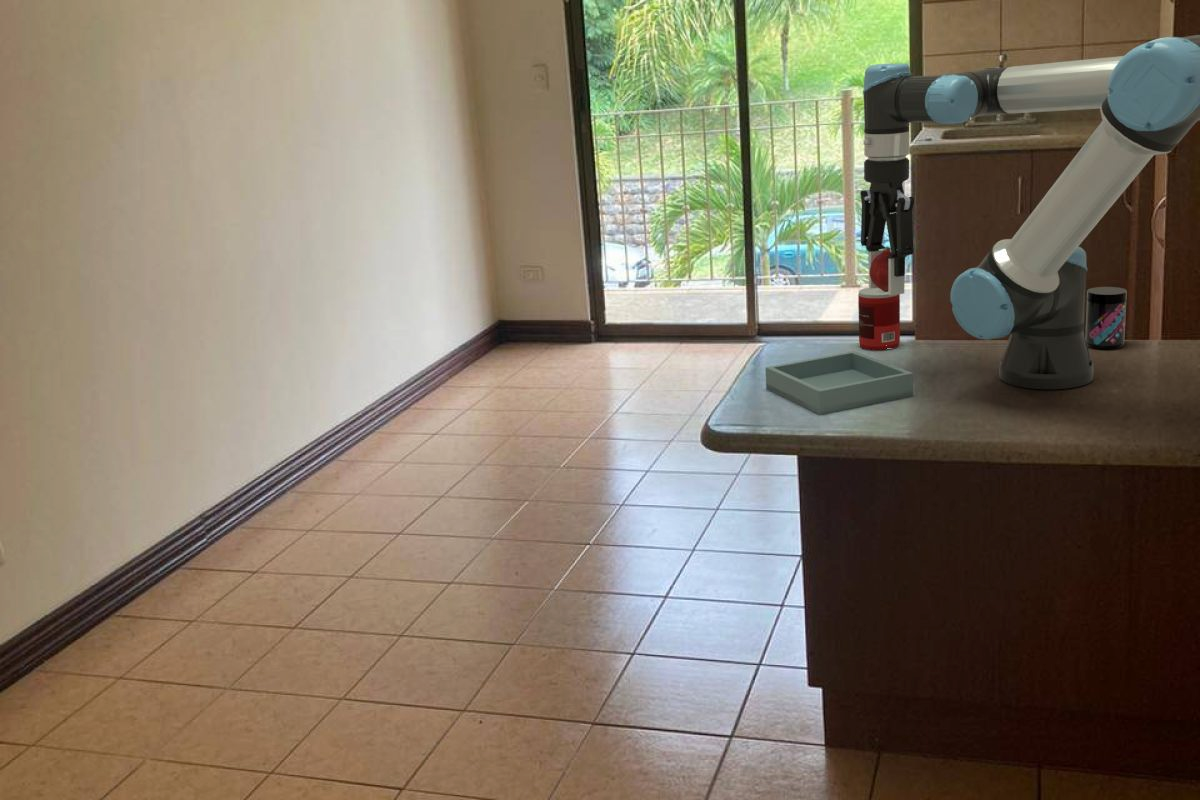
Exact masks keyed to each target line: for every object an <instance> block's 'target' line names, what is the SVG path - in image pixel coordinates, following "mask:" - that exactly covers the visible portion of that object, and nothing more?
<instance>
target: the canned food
mask: <svg viewBox="0 0 1200 800" xmlns="http://www.w3.org/2000/svg"><path fill="white" fill-rule="evenodd" d="M857 297H858V299H857V300H858V301H857V304H858V305H857V306H858V342H859V343H858V344H859V346H860V348H861V349H863V350H867V351H872V352H873V351H876V352H877V351H887V350H886V349H887V348H894V349H896V348H897V347H899V345H900V342H901V329H900V328H901V322H900V321H901V307H900V306H901V299H900V297H901V294H897V295H888V292H884V291H882V290H881V289H880V288H873V289H870V288H869V287H865V288H862V289H859V290H858V295H857ZM886 345H887V346H886ZM895 347H896V348H895Z"/></svg>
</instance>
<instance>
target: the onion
mask: <svg viewBox="0 0 1200 800" xmlns="http://www.w3.org/2000/svg"><path fill="white" fill-rule="evenodd" d="M884 247H885V248H884V249H882V250H883V252H882V253H881V254H879V255H878V256H877V257H876V258H875V259H874V260H873V262H872V264H871V267H870V278H871V280H872V282H873V283H874V284H875V285H876V286H877V287H878V288H880V289H881V290H882V291H884V292H888V263H889V258H888V256H889V255H891V249H890V246H884Z"/></svg>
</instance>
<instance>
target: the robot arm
mask: <svg viewBox="0 0 1200 800" xmlns="http://www.w3.org/2000/svg"><path fill="white" fill-rule="evenodd" d="M911 73H912V72H911V67H910V65H909V64H908V63H905V62H895V63H893V62H892V63H891V62H890V63H879V64H872V65H869V66H868V67H867V68H865V71H864V78H863V79H864V80H863V90H862V94H863V112H864V113H863V115H864V116H863V117H864V119H863V120H864V128H863V129H864V130H863V132H864V133H863V134H864V139H863V141H862V142H863V143H862V144H863V146H864V148H863V149H864V151H863V152H864V157H865V158H866V159H865V161H863V169H864V170H863V180H864V181H865V182H867V183H870V185H869V189H864V190H863V189H862V190H861V191H860V200H861V214H860V215H861V216H860V217H861V222H860V223H861V224H860V226H861V227H860V245H861V246H862V247H865V249H866V251H867V252H868V253H867V254H868V258H867V259H868V261H867V262H868V263H867V264H868V288H870V289H873V288H878V287H877V286H876V285H875V284H874V283H873V282H872V280H871V278H870V267H871V264H872V262H873V260H874V259H875V258H876V257H877V256H878V255H879V254H881V253H882V252H883V250H884V248H885V247H886V246H884V244H883V239H884V235H885V230H886V229H885V228H887V234H888V240H889V241H888V242H889V248H890V251H891V255H889V256H888V258H889V263H888V295H897V294H900V295H903V294H905V274H906V257H908V256H910V255H913V254H914V220H913V219H914V217H913V216H914V215H913V209H914V205H915V198H914V196H906V194H905V190H904V185H903V184H904V182H905V181H908V179H910V159H909V158H908V157H907V156H909V154H911V153H910V151H911V149H910V145H911V144H910V143H911V142H910V141H911V139H910V123H911V124H912V123H921V124H940V125H945V126H947V125H950V124H962V123H965V122H967V121H968V120H969V119H970V118H977V117H983V116H984V117H985V116H996V115H998V116H999V115H1009V114H1023V113H1025V114H1026V113H1042V112H1043V113H1044V112H1058V111H1059V112H1060V111H1075V110H1076V111H1077V110H1094V109H1096V110H1097V109H1099V111H1100V114H1101V115H1100V116H1101V119H1102V121H1100V124H1099V125H1097V127H1096V128H1095V130H1094V131H1093V133H1091V135H1090V136H1089V138H1088V139H1087V140H1086V142H1085V143H1084V145H1082V146H1081V148H1080V149H1079V151H1078V152H1077V153H1076V155H1075V156H1074V157H1073V158H1072V160H1071V161H1070V162H1069V163H1068V165H1067V166H1066V167H1065V168H1064V170H1063V171H1062V173H1061V174H1060V175H1059V177H1058V178H1057V179H1056V181H1055V182H1054V183H1053V185H1052V186H1051V187H1050V188H1049V190H1048V191H1047V192H1046V194H1045V195H1044V197H1043V198H1042V199H1041V200H1040V201H1039V203H1038V204H1037V206H1036V207H1035V208H1034V209H1033V211H1032V212H1031V213H1030V214H1029V215H1028V217H1027V218H1026V220H1025V221H1024V222H1023V223H1022V225H1021V226H1020V227H1019V229H1018V230H1017V231H1016V232H1015V234H1014V235H1013V236H1012V238H1007V239H1006V238H1005V239H1001V240H999V241H997V242H996V243H995V244H994V245H993V246H992V248H991V249H990V251H989V252H988V253H987V254H986V256H984V258H983V259H982V261H981V262H980V263H979V265H977V266H976V267H970V268H968V269H967V270H965V271H964V272H962V273H961V274H959V275H958V276H957V277H956V278H955V279H954V282H952V283H953V284H952V287H951V290H950V295H949V296H950V298H949V299H950V303H951V305H952V308H951V311H952V314H953V316H954V318H955V320H956V322H957V323H958V324H959V326H960V327H961V329H962V330H964V331H965V333H967V334H969V335H971V336H972V337H974V338H976V339H980V340H985V341H986V340H993V339H1002V338H1004V337H1007V336H1008V335H1009V338H1008V339H1007V342H1006V343H1007V344H1006V346H1005V350H1004V353H1003V357H1002V358H1001V360H1000V362H999V364H998V368H999V370H998V371H999V372H998V377H999V380H1000V381H1002V382H1003V383H1006V384H1008V385H1012V386H1015V387H1019V388H1020V387H1021V388H1025V389H1033V390H1034V389H1035V390H1063V389H1064V390H1066V389H1072V388H1078V387H1079V388H1080V387H1082V386H1085V385H1088V384H1090V383H1091V382H1093V379H1094V363H1093V361H1092V360H1091V356H1090V355H1091V354H1090V350H1089V347H1088V346H1087V344H1086V340H1085V338H1086V336H1085V333H1084V332H1085V311H1086V310H1085V309H1086V294H1087V290H1086V288H1087V272H1088V267H1087V253H1086V251H1085V249H1084V248H1082V247H1081V246H1080V245H1081V244H1082V243H1083V241H1084V240H1085V239H1086V238H1087V237H1088V235H1089V234H1090V233H1091V232H1092V230H1093V229H1094V228H1095V227H1096V226H1097V225H1098V223H1099V222H1100V220H1102V218H1104V216H1105V214H1107V212H1108V211H1109V210H1110V209H1111V208H1112V207H1113V205H1114V204H1115V203H1116V202H1117V200H1118V199H1119V198H1120V197H1121V196H1122V194H1123V193H1124V192H1125V191H1126V190H1127V189H1128V187H1129V186H1130V185H1131V184H1132V182H1133V181H1134V180H1135V178H1136V177H1137V176H1138V175H1139V174H1140V173H1141V171H1142V170H1143V169H1144V168H1145V167H1146V165H1147V164H1148V163H1149V161H1151V159H1152V158H1153V157H1154V156H1156V155H1164V154H1169V153H1171V152H1172V150H1174V149H1175V148H1176V146H1177V145H1178V144H1179V143H1180V141H1182V139H1183V138H1184V137H1185V136H1186V135H1187V134H1188V133H1189V131H1190V130H1191V129H1192V128H1193V126H1194V125H1195V124H1196V123H1197V122H1200V34H1195V35H1188V36H1183V37H1177V36H1166V37H1161V38H1156V39H1153V40H1149V41H1148V42H1145V43H1143V44H1140V45H1137V46H1136V47H1134V48H1132V49H1131V50H1130V51H1128V52H1127V53H1126V54H1125V55H1120V56H1109V57H1099V58H1091V59H1090V58H1089V59H1078V60H1067V61H1057V62H1047V63H1046V62H1045V63H1037V64H1025V65H1024V64H1023V65H1017V66H1008V67H998V66H997V67H996V66H995V67H994V66H993V67H987V68H982V69H976V70H971V71H963V72H962V71H961V72H953V73H946V74H940V75H939V74H938V75H937V74H935V75H918V76H917V75H912V74H911Z"/></svg>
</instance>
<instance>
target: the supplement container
mask: <svg viewBox="0 0 1200 800" xmlns="http://www.w3.org/2000/svg"><path fill="white" fill-rule="evenodd" d="M1127 294H1128V290H1127V289H1126V288H1122V287H1117V286H1116V287H1115V286H1098V287H1091V288H1088V289H1087V290H1086V315H1085V317H1086V319H1085V340H1086V344H1087V347H1088V348H1089V349H1092V350H1093V349H1094V350H1102V351H1111V350H1118V349H1121V348H1123V346H1124V344H1125V335H1126V334H1125V332H1126V314H1127V313H1126V312H1127V311H1126V310H1127V296H1128V295H1127Z"/></svg>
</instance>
